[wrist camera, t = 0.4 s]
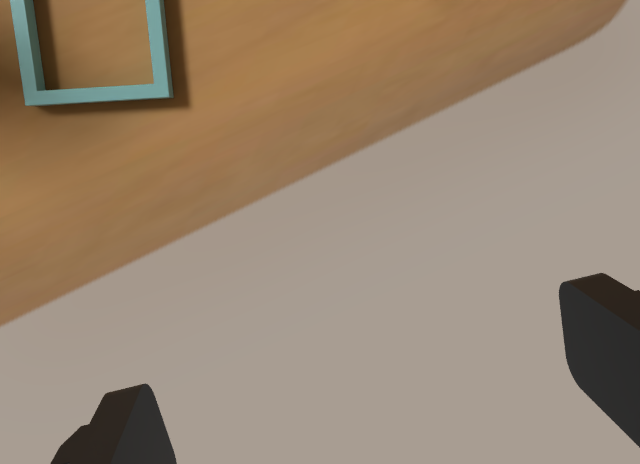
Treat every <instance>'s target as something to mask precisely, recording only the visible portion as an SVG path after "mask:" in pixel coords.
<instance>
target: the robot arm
mask: <svg viewBox="0 0 640 464" xmlns="http://www.w3.org/2000/svg"><path fill="white" fill-rule="evenodd" d="M559 300H560V309H561V317H562V326H563V335H564V343H565V352H566V359H567V363H568V366H569V369H570V372H571V374H572V376H573V378H574V380H575V381H576V383H577V384H578V386H579V387H580V388H581V389H582V390H583V391H584V392H585V393H586V394H587V395H588V396H589V397H590V398H591V399H592V400H593V401H594V402H595V403H596V404H597V405H598V406H599V407H600V408H601V409H602V410H603V411H604V412H605V413H606V414H607V415H608V416H609V417H610V418H611V419H612V420H613V421H614V422H615V423H616V424H617V425H618V426H619V427H620V428H621V429H622V430H623V431H624V432H625V433H626V434H627V435H628V436H629V437H630V438H631V439H632V440H633V441H634V442H635V443H636V444H637V445H638V446H639V447H640V291H639V290H637V291H634V290H632V289H630V288H628V287H627V286H625V285H623V284H622V283H620V282H618V281H617V280H615V279H613V278H611V277H610V276H608V275H606V274H603V273H599V274H595V275H591V276H587V277H582V278H578V279H575V280H570V281H566V282H563V283H562V284H561V285H560V289H559ZM51 464H177V463H176V458H175V454H174V451H173V448H172V445H171V442H170V439H169V436H168V433H167V431H166V428H165V425H164V422H163V419H162V416H161V413H160V410H159V407H158V404H157V401H156V398H155V396H154V393H153V391H152V389H151V388H150V386H149V385H148V384H142V385H138V386H134V387H129V388H125V389H121V390H117V391H113V392H109V393H106V394H105V395H104V397H103V398H102V400H101V402H100V404H99V406H98V408H97V410H96V412H95V414H94V416H93V418H92V420H91V422H90V424H88V425H84V426H81V427H80V428H79V429H78V430H77V431H76V432H75V433H74V434H73V435H72V436H71V437H70V438H68V439H67V440H66V441H65V442H64V443H63V444H62V445H61V446H60V448H59V449H58V451H57V453H56V455H55V457H54V459H53V460H52V462H51Z"/></svg>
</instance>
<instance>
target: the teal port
mask: <svg viewBox="0 0 640 464" xmlns="http://www.w3.org/2000/svg"><path fill="white" fill-rule="evenodd" d="M145 3H146V12H147V21H148V30H149V40H150V49H151V58H152V68H153V77H154V84H145V85H128V86H111V87H95V88H78V89H62V90H46V89H45V82H44V75H43V68H42V61H41V54H40V47H39V40H38V32H37V25H36V18H35V11H34V4H33V0H10V4H11V11H12V18H13V24H14V31H15V38H16V45H17V52H18V58H19V65H20V72H21V79H22V85H23V92H24V99H25V106H48V105H65V104H81V103H98V102H114V101H131V100H147V99H164V98H174V96H173V86H172V77H171V67H170V57H169V47H168V38H167V28H166V18H165V8H164V0H145Z"/></svg>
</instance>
